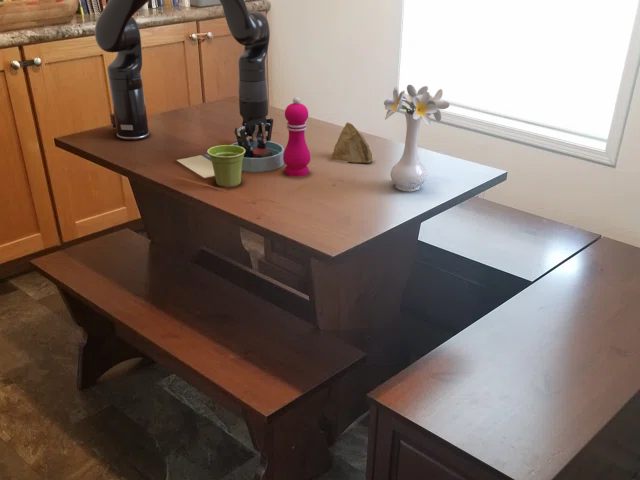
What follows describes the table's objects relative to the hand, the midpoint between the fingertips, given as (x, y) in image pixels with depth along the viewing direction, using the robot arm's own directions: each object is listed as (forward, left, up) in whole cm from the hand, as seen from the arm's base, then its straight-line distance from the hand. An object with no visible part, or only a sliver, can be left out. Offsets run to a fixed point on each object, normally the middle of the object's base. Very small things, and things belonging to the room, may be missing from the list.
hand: (255, 160), depth 188 cm
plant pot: (+9, -14, -1) cm, 16 cm away
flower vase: (+36, +24, -1) cm, 43 cm away
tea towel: (-5, -13, -1) cm, 14 cm away
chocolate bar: (0, 0, 0) cm, 0 cm away
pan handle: (-13, +3, +1) cm, 13 cm away
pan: (0, 0, -1) cm, 1 cm away
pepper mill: (+13, +5, -1) cm, 14 cm away
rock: (+13, +24, -1) cm, 27 cm away
